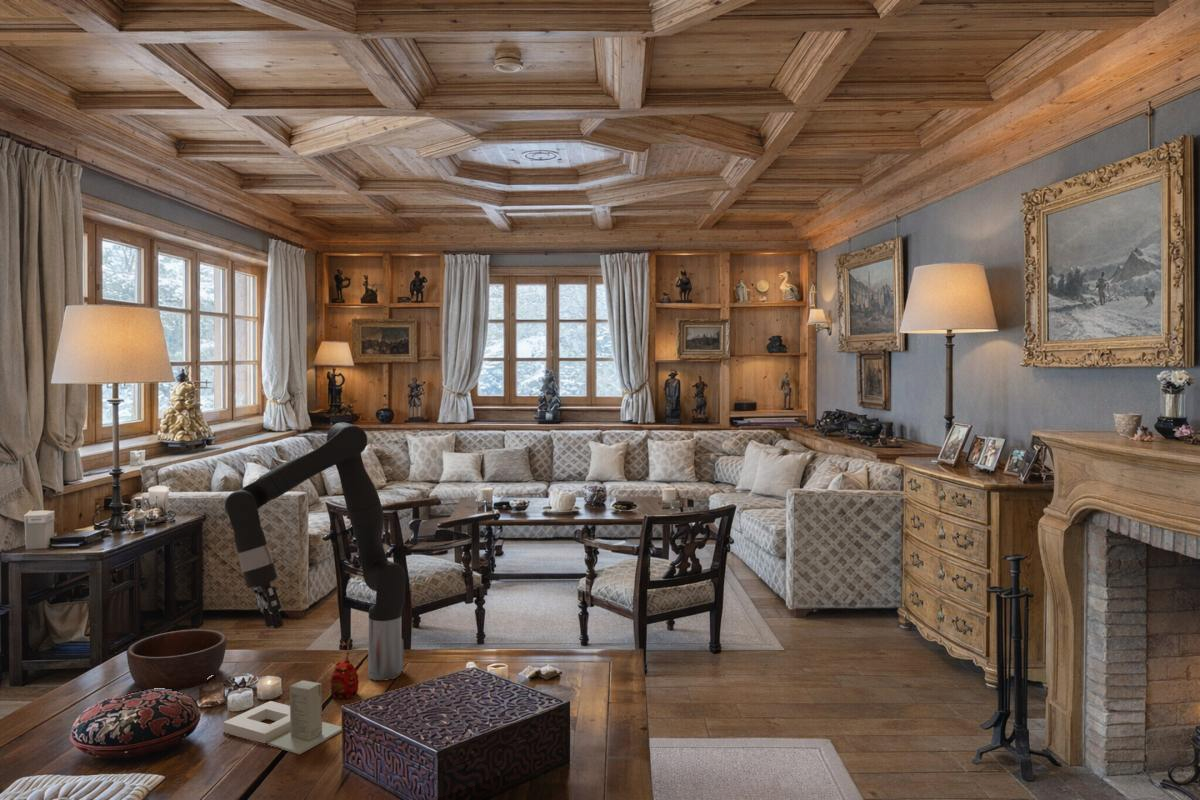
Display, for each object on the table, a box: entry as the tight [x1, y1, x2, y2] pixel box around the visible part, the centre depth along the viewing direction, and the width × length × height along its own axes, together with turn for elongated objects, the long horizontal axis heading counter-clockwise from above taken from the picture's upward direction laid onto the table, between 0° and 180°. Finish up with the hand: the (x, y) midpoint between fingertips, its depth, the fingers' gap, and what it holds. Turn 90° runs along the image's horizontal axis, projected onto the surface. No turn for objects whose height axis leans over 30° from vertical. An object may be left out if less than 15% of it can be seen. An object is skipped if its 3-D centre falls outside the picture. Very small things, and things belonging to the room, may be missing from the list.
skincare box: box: [289, 679, 323, 740], centre depth 183 cm, size 6×4×12 cm
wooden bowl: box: [126, 628, 228, 691], centre depth 219 cm, size 25×25×10 cm
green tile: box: [267, 721, 342, 755], centre depth 184 cm, size 14×10×1 cm
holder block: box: [222, 700, 290, 743], centre depth 189 cm, size 14×14×2 cm
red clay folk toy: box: [329, 637, 360, 700], centre depth 209 cm, size 8×7×15 cm
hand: (275, 626), depth 197 cm, fingers open, 8 cm apart
